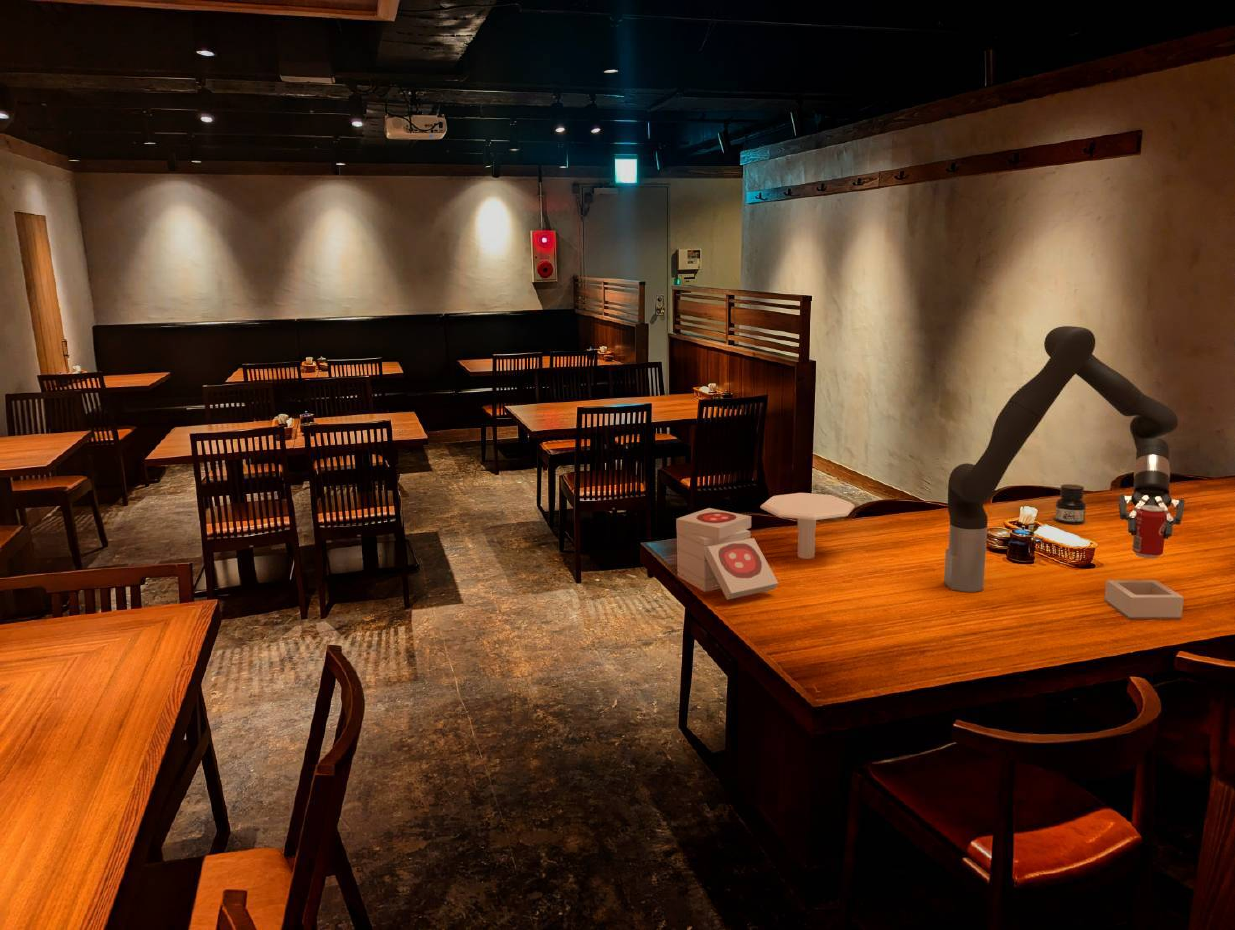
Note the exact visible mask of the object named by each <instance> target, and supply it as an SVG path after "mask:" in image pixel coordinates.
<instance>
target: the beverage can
mask: <svg viewBox="0 0 1235 930" xmlns="http://www.w3.org/2000/svg"><path fill="white" fill-rule="evenodd" d="M1166 520H1167V514H1166V513H1165V512H1164V508H1162V507H1159V506H1152V505H1143V506H1140V509H1139V510H1138V511H1137V512H1136V523H1135V535H1134V536H1133V539H1132V540H1133V541H1132V551H1133V553H1134V554H1135V555H1136V556H1138V557H1139V558H1145V559H1158V558H1159V557H1160V556H1162V555H1163V553H1164V546H1165V540H1166V539H1165V529H1166Z"/></svg>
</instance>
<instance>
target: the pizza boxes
mask: <svg viewBox="0 0 1235 930" xmlns="http://www.w3.org/2000/svg"><path fill="white" fill-rule="evenodd" d="M675 521H676V522H675V523H676V525H675V526H676V529H675V530H676V557H677V559H676V562H677V566H676V567H677V569H676V570H677V572H678V573H677V572H676V573H677V575H676V576H677V577H678V578H680V579H682V580H684V581H686V582H687V583H688V584H690V585H692V586H694V587H696V588H698V589H699V590H701V591H703V592H705V593H706V592H711V591H716V590H720V589H721V590H722V593H723V595H724V596H725V598H726V600H727V601H728V600H732V599H737V598H742V597H746V596H751V595H755V594H759V593H764V592H769V591H773V590H775V589H776V587H777V586H778V585H779V582H778V579H777V578H776V576H775V574H774V573H773V570H772V569H771V566H770V565H769V563H768V561H767V560H766V558H765V556H764V554H763V552H762V551H761V548H760V547H759V544H757V541H756V539H755V538H754V537H752V538H751V531H750V530H748V529H751V528H752V516H751V515H745V514H741V513H736V512H730V511H726V510H720V509H717V508H716V509H715V508H711V507H708V508H705V509H702V510H699V511H695V512H692V513H690V514H686V515H684V516H680V517H678V518H676V520H675ZM679 573H680V574H679ZM681 574H682V575H684V576H685V577H684V576H682V575H681ZM686 577H687V578H686ZM689 579H690V580H689ZM691 580H692V581H691ZM693 581H694V582H693ZM696 583H697V584H696ZM698 584H699V585H698ZM700 585H701V586H700ZM715 585H718V586H715ZM711 586H713V587H711ZM703 587H704V588H703ZM706 587H708V588H706Z"/></svg>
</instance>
